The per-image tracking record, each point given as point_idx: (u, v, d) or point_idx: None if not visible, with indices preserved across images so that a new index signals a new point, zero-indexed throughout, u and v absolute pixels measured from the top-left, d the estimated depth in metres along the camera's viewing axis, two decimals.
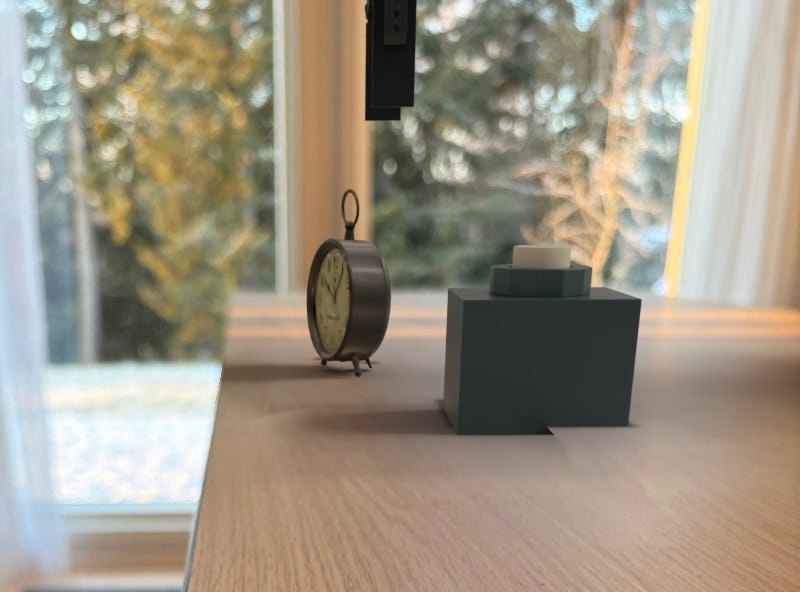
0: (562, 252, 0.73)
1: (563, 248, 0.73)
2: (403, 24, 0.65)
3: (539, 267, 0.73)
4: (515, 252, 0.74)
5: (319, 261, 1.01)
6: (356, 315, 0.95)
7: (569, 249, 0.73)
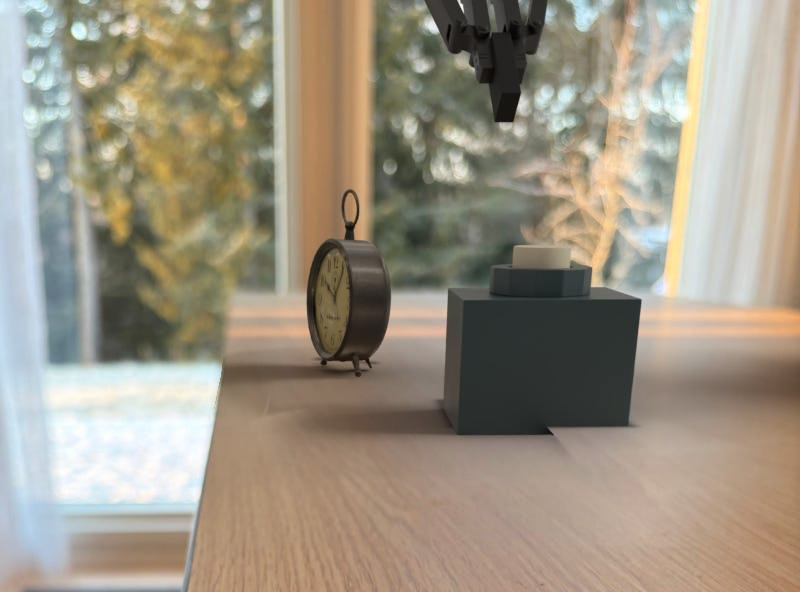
0: (562, 252, 0.73)
1: (563, 248, 0.73)
2: (477, 60, 0.83)
3: (539, 267, 0.73)
4: (515, 252, 0.74)
5: (319, 261, 1.01)
6: (356, 315, 0.95)
7: (569, 249, 0.73)
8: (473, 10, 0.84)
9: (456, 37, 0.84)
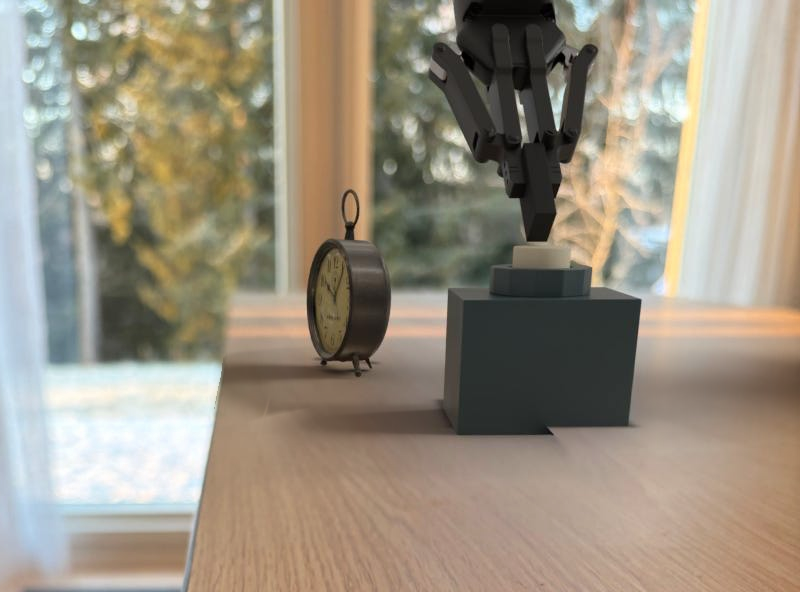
0: (562, 252, 0.73)
1: (563, 248, 0.73)
2: (508, 174, 0.75)
3: (539, 267, 0.73)
4: (515, 252, 0.74)
5: (319, 261, 1.01)
6: (356, 315, 0.95)
7: (569, 249, 0.73)
8: (502, 117, 0.76)
9: (484, 147, 0.76)
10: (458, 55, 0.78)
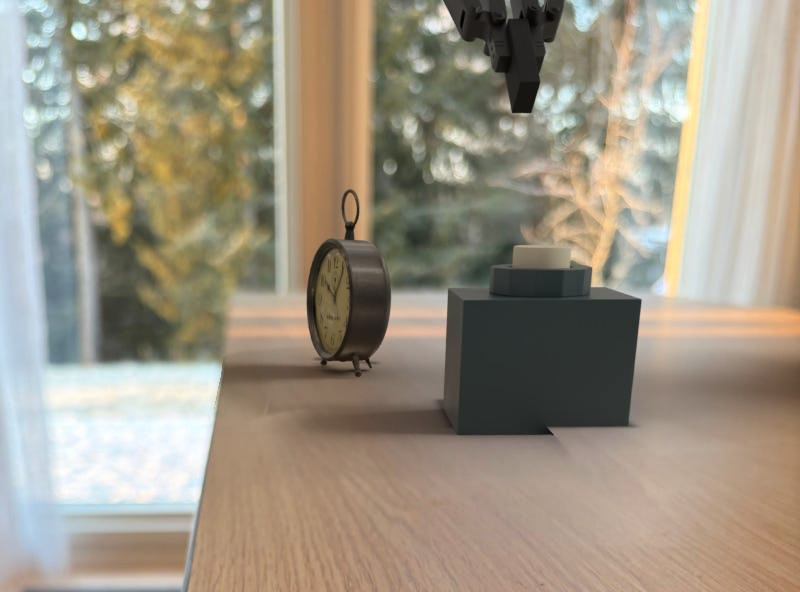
0: (562, 252, 0.73)
1: (563, 248, 0.73)
2: (493, 48, 0.78)
3: (539, 267, 0.73)
4: (515, 252, 0.74)
5: (319, 261, 1.01)
6: (356, 315, 0.95)
7: (569, 249, 0.73)
8: None
9: (470, 24, 0.80)
10: None
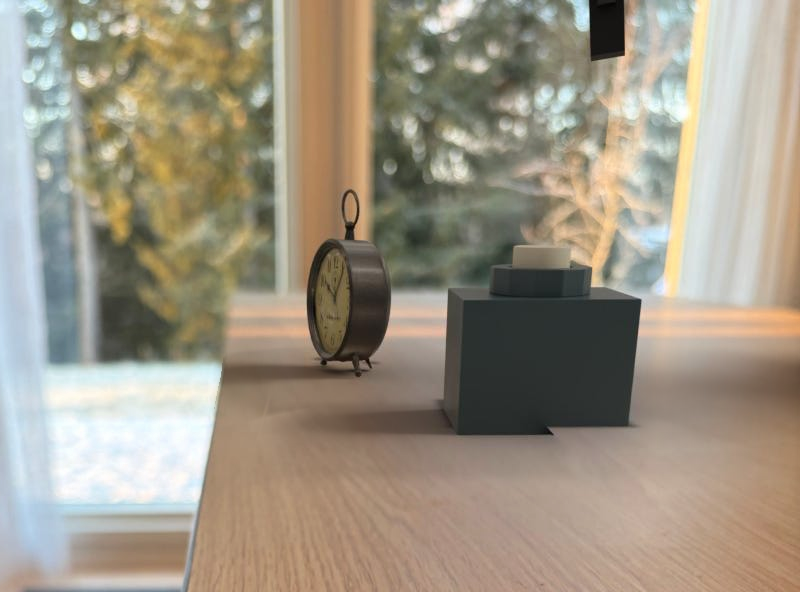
0: (562, 252, 0.73)
1: (563, 248, 0.73)
2: None
3: (539, 267, 0.73)
4: (515, 252, 0.74)
5: (319, 261, 1.01)
6: (356, 315, 0.95)
7: (569, 249, 0.73)
8: None
9: None
10: None
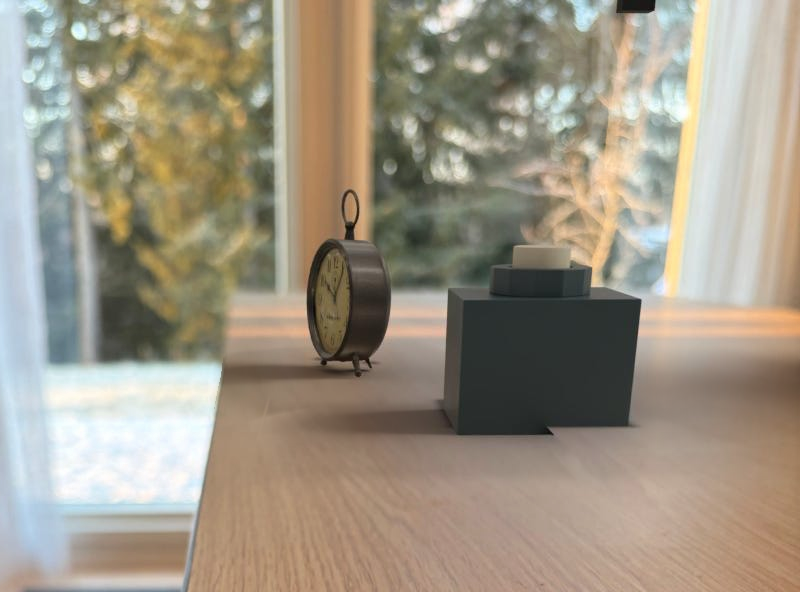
0: (562, 252, 0.73)
1: (563, 248, 0.73)
2: None
3: (539, 267, 0.73)
4: (515, 252, 0.74)
5: (319, 261, 1.01)
6: (356, 315, 0.95)
7: (569, 249, 0.73)
8: None
9: None
10: None
